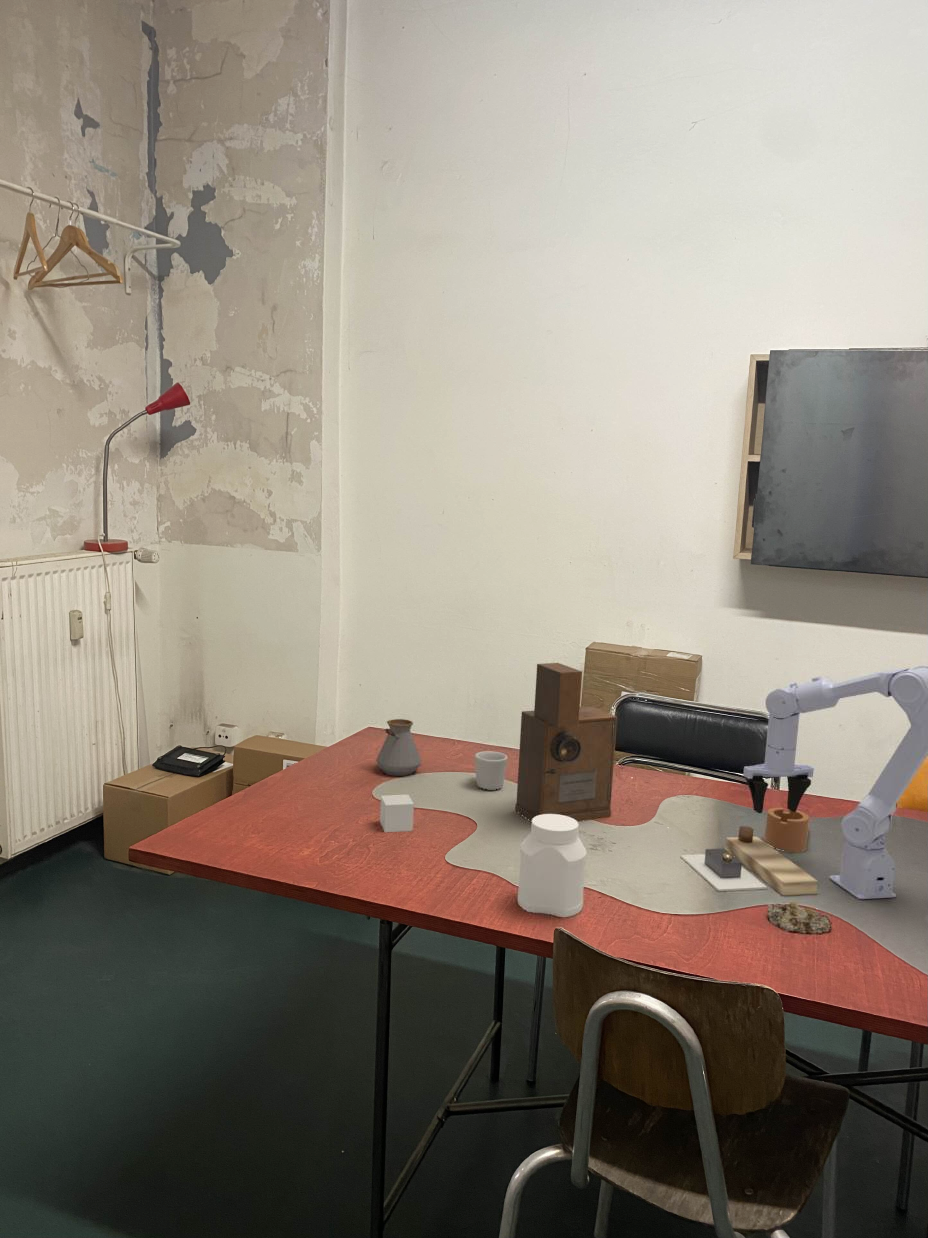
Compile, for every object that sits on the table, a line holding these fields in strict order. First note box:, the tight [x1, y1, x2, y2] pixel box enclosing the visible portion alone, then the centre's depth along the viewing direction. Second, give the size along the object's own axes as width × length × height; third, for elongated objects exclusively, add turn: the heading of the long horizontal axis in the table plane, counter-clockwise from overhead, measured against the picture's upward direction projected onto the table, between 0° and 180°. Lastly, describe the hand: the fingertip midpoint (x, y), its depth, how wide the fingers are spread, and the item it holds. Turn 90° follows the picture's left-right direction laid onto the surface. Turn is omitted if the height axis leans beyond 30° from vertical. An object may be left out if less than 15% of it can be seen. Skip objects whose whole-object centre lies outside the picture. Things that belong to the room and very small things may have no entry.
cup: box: [474, 750, 509, 791], centre depth 223 cm, size 11×8×8 cm
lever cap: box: [704, 847, 743, 879], centre depth 177 cm, size 7×4×4 cm, turn 12°
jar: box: [517, 814, 587, 918], centre depth 159 cm, size 12×10×15 cm
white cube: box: [379, 794, 415, 833], centre depth 193 cm, size 6×6×6 cm
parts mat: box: [679, 853, 768, 892], centre depth 177 cm, size 16×10×1 cm, turn 12°
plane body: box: [724, 825, 819, 897], centre depth 179 cm, size 22×7×5 cm, turn 12°
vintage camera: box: [514, 662, 618, 822], centre depth 201 cm, size 19×14×35 cm
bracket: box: [764, 807, 811, 853], centre depth 197 cm, size 18×8×7 cm, turn 156°
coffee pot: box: [375, 718, 422, 777], centre depth 225 cm, size 21×12×15 cm, turn 171°
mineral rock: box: [766, 901, 833, 935], centre depth 157 cm, size 11×4×8 cm
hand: (774, 811), depth 185 cm, fingers open, 7 cm apart
